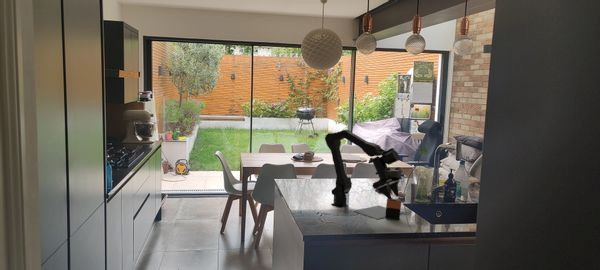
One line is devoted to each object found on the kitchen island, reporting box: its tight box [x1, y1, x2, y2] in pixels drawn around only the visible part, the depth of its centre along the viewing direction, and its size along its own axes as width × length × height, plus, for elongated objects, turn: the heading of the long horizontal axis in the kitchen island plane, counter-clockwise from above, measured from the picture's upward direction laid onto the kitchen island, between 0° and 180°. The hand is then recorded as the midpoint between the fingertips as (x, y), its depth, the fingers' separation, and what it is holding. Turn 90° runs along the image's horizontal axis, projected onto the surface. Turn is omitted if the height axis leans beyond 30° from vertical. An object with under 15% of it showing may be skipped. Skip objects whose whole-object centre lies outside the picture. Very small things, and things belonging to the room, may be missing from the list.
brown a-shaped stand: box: [374, 178, 393, 194], centre depth 266 cm, size 9×6×12 cm, turn 100°
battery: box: [384, 197, 402, 221], centre depth 209 cm, size 4×7×10 cm, turn 77°
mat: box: [353, 205, 404, 220], centre depth 220 cm, size 16×20×1 cm
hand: (394, 197), depth 210 cm, fingers open, 7 cm apart
